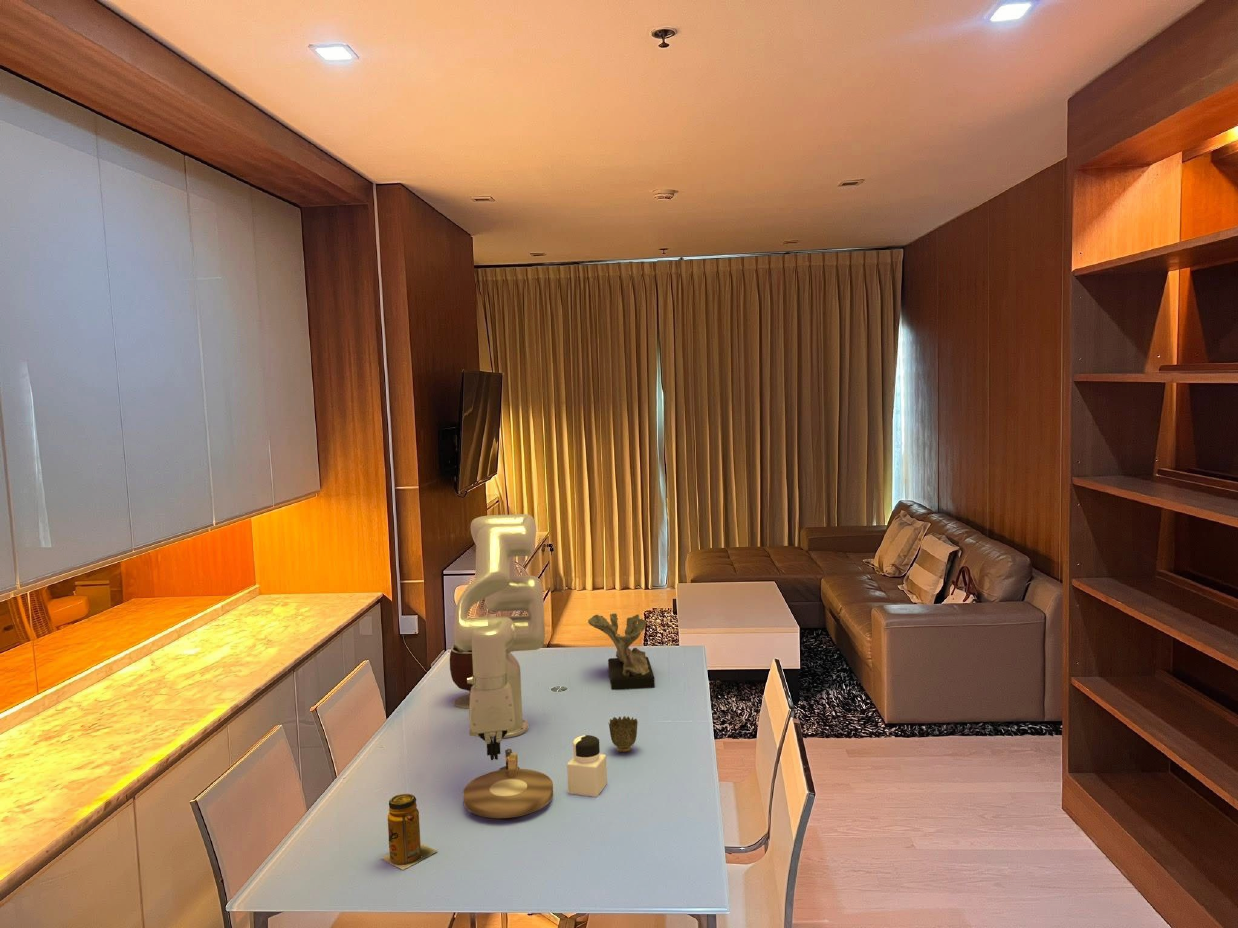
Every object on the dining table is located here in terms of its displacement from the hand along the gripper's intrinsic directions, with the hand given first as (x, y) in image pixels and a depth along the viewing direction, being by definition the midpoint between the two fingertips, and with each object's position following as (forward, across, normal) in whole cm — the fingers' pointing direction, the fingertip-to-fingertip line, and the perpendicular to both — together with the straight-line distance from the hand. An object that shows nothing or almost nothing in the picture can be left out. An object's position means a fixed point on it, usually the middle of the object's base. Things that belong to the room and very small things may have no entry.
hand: (493, 757), depth 194 cm
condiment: (+8, -19, -24) cm, 31 cm away
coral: (+11, +46, +68) cm, 83 cm away
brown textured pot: (+9, +34, +13) cm, 37 cm away
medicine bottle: (+8, +21, -5) cm, 23 cm away
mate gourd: (+10, -2, +62) cm, 63 cm away
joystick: (+8, +4, +8) cm, 12 cm away
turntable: (+7, +3, -7) cm, 10 cm away
